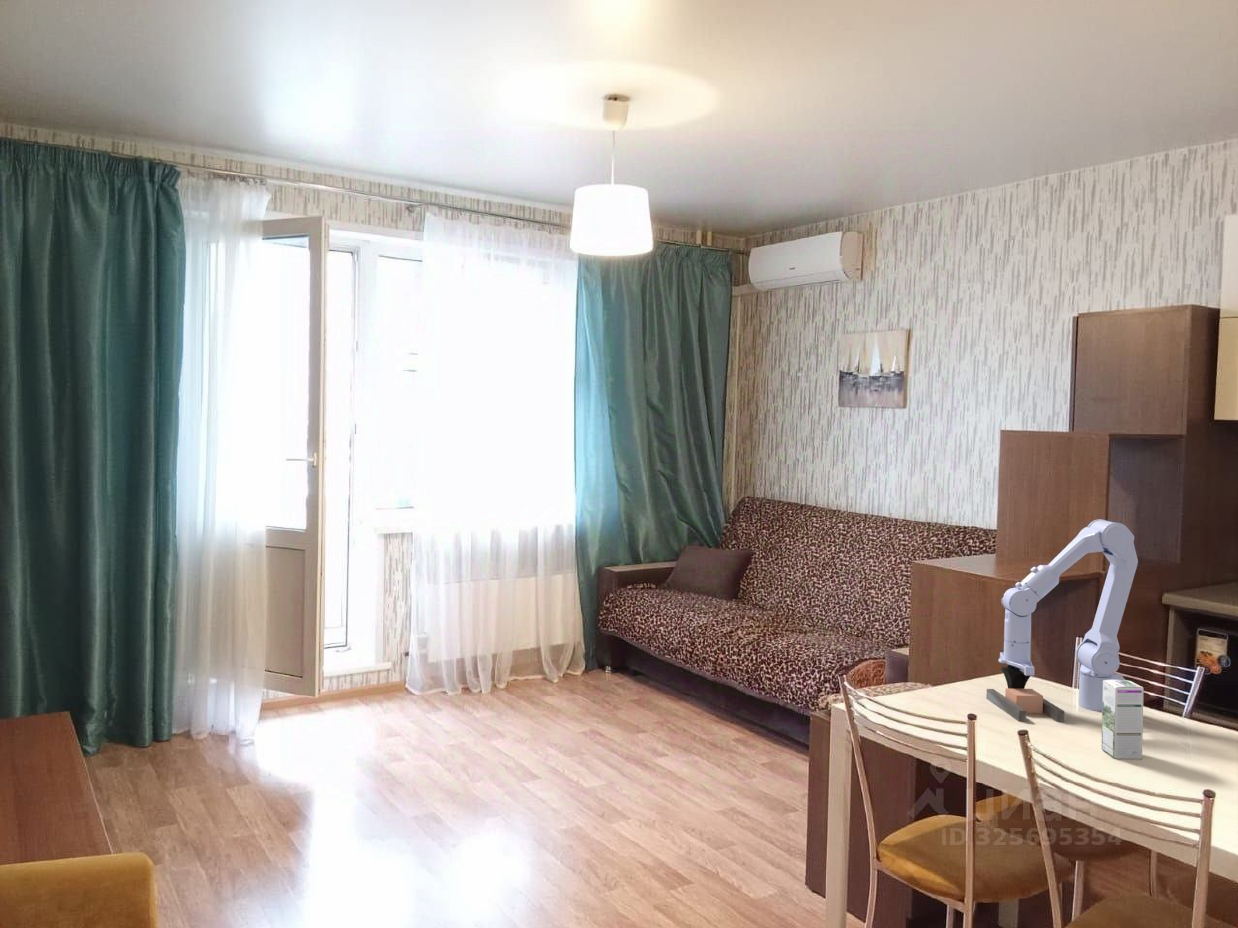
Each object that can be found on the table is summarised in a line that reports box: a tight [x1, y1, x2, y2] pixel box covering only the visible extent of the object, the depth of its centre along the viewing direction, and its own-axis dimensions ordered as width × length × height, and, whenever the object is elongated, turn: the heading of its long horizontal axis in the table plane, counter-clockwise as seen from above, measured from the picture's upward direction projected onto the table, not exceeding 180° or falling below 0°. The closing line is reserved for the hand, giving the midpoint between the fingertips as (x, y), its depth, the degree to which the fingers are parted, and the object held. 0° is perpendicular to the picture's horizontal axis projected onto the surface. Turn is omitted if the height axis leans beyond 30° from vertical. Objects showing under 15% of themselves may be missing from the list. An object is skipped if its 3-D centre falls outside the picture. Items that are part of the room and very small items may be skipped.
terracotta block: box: [1004, 687, 1044, 715], centre depth 224 cm, size 6×6×4 cm
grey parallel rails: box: [985, 688, 1066, 723], centre depth 224 cm, size 12×24×4 cm, turn 1°
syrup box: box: [1101, 679, 1144, 760], centre depth 197 cm, size 6×6×14 cm
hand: (1015, 698), depth 228 cm, fingers closed
